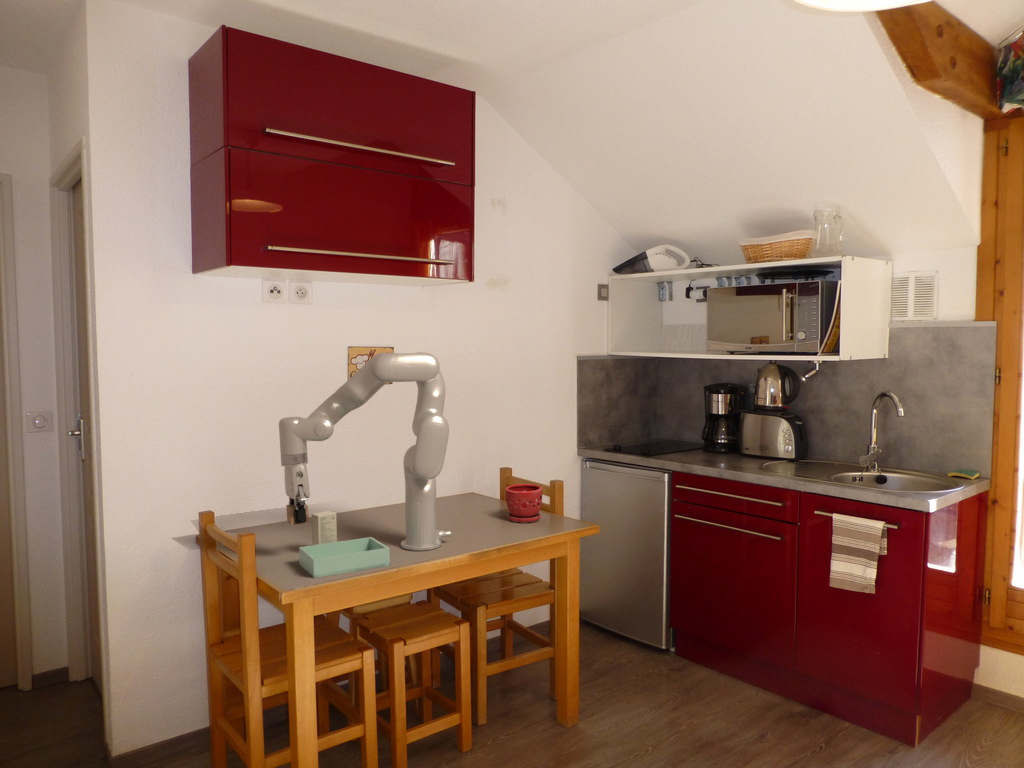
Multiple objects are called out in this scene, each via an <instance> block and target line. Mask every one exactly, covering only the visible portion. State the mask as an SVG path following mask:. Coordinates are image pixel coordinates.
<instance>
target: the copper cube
mask: <svg viewBox="0 0 1024 768" xmlns="http://www.w3.org/2000/svg"><path fill="white" fill-rule="evenodd" d="M297 505H298V503H297ZM285 506H286V507H285V508H286V522H287V523H288V524H290V525H291V526H295V525H301V524H302V525H303V524H307V523H310V520H309V518H310V517H309V515H310V514H309V505H308V504H307V503H305V506H306V522H304V523H297V524H296V523H295V517H294V510H295V504H291V505H289V504H286V505H285Z"/></svg>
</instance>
